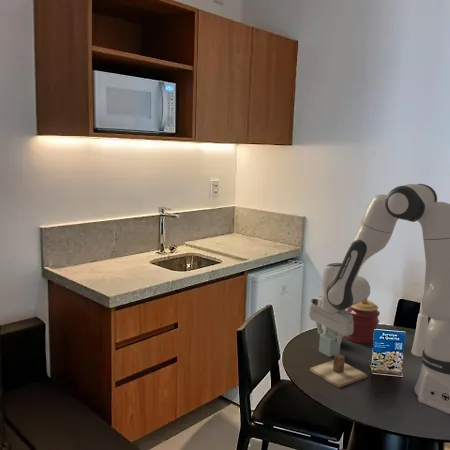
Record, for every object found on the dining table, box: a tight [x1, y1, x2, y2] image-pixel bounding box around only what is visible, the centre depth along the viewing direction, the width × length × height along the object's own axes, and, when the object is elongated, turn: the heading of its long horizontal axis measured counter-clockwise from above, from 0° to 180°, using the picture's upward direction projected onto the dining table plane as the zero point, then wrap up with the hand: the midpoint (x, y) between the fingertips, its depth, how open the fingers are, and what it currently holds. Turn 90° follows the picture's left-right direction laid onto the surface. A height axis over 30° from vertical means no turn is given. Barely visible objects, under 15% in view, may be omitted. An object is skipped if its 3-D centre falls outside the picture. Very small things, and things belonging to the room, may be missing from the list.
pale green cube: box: [318, 333, 341, 358], centre depth 188 cm, size 6×6×7 cm
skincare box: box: [319, 324, 339, 336], centre depth 198 cm, size 6×4×12 cm
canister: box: [345, 298, 381, 345], centre depth 202 cm, size 13×13×18 cm
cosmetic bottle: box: [410, 301, 429, 358], centre depth 188 cm, size 6×6×22 cm
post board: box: [309, 353, 368, 389], centre depth 171 cm, size 14×14×7 cm
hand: (329, 337), depth 188 cm, fingers open, 8 cm apart
